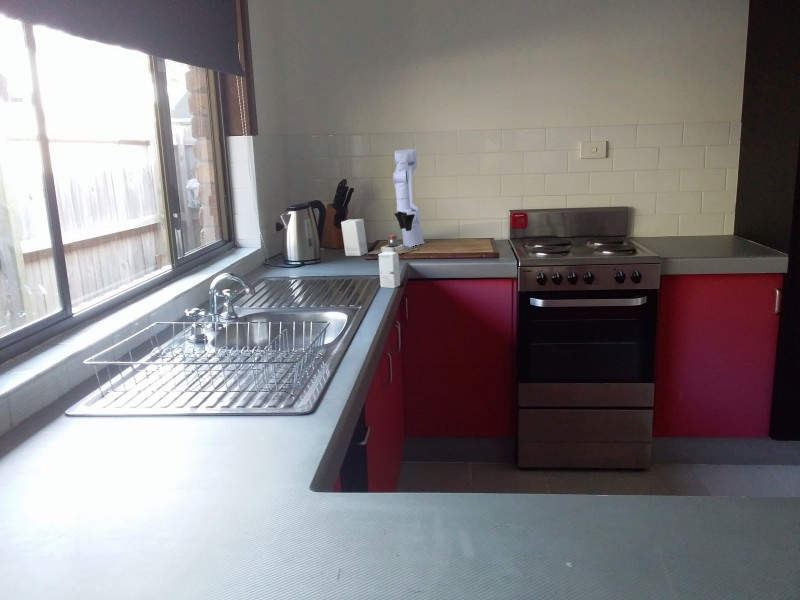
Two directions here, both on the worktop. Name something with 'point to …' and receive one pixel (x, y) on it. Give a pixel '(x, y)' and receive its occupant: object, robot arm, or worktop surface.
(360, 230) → the skincare box
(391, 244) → the jar with red lid
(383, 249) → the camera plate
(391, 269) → the skincare box
